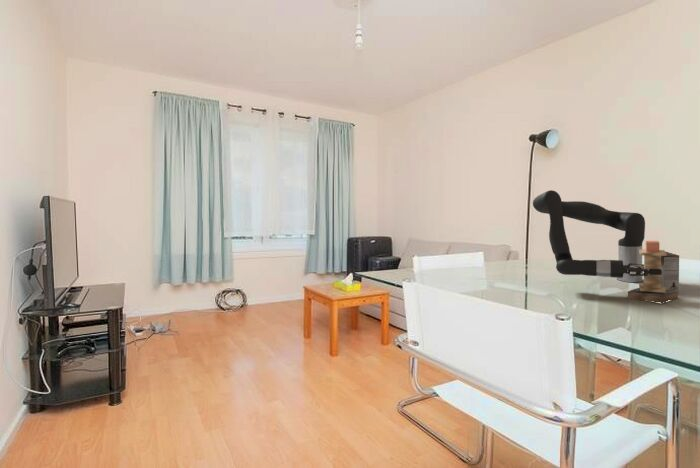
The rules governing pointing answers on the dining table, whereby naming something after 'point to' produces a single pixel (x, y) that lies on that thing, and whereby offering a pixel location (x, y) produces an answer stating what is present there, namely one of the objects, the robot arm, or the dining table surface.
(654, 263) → the wooden pedestal
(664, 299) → the dock
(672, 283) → the coffee box
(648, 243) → the block
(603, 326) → the dining table surface
